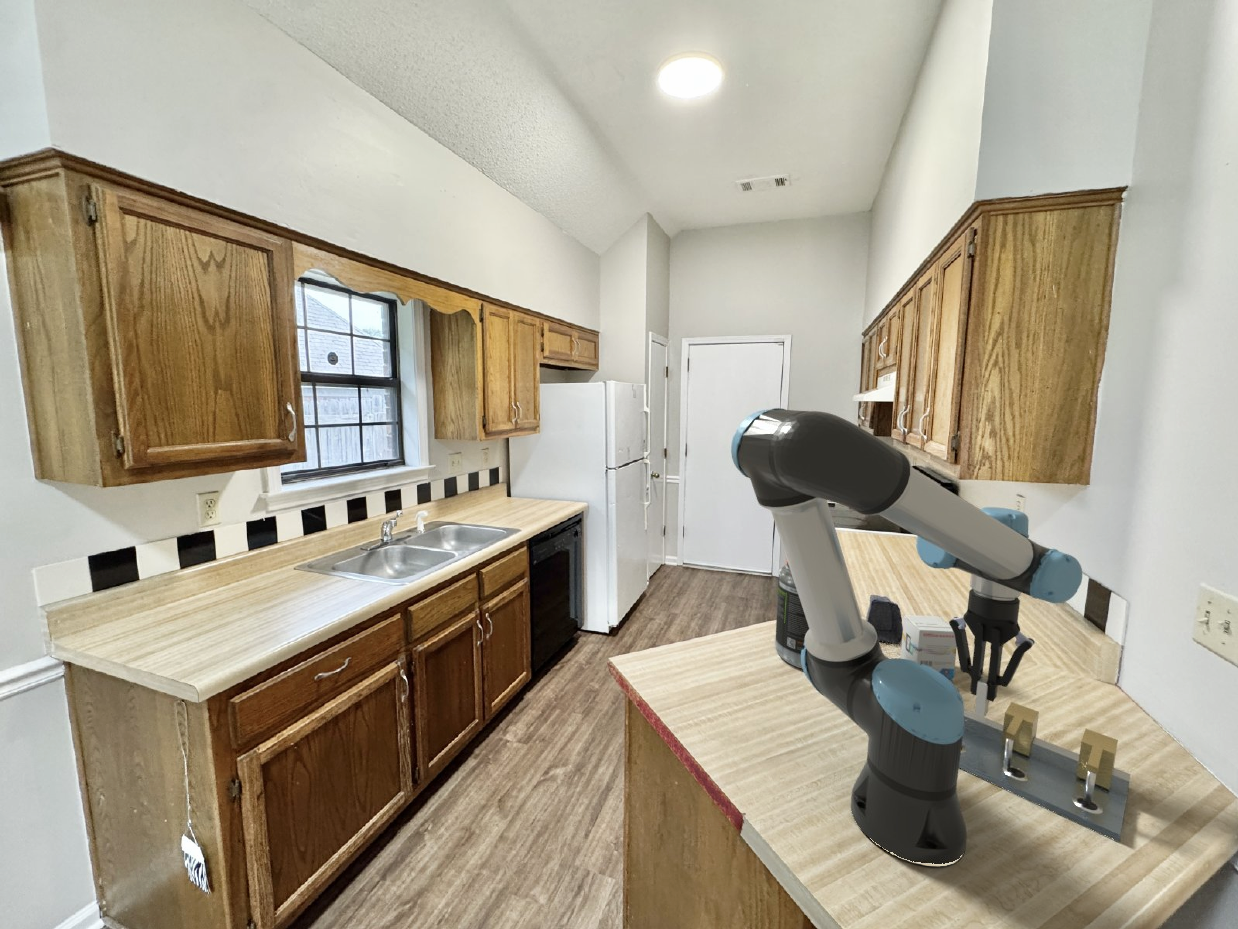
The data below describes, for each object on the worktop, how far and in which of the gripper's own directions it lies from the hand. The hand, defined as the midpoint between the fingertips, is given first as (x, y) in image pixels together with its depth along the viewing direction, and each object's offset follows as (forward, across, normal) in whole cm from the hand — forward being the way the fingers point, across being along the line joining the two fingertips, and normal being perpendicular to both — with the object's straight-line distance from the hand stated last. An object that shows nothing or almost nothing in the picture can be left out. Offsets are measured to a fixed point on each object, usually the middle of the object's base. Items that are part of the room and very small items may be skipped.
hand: (981, 713), depth 98 cm
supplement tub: (+5, +37, -3) cm, 37 cm away
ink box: (+5, +16, -19) cm, 25 cm away
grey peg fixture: (+5, -7, +4) cm, 10 cm away
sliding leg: (+3, -6, +3) cm, 7 cm away
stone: (+5, +30, -29) cm, 42 cm away
